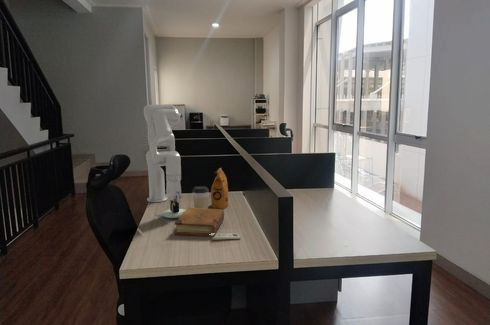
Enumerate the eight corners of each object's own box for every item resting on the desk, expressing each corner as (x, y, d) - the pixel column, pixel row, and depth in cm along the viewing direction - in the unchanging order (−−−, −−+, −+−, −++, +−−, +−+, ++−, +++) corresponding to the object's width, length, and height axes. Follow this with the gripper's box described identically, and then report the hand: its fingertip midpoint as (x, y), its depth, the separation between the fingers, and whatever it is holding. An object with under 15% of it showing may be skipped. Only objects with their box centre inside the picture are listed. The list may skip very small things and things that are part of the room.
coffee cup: (211, 211, 208) (210, 185, 205) (207, 216, 199) (207, 188, 196) (195, 210, 208) (194, 184, 206) (191, 215, 200) (190, 188, 197)
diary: (214, 237, 168) (214, 224, 167) (174, 234, 171) (174, 222, 170) (224, 219, 191) (224, 208, 190) (188, 217, 193) (188, 207, 192)
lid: (158, 212, 198) (158, 202, 197) (181, 209, 205) (181, 198, 204) (167, 219, 187) (167, 208, 186) (191, 215, 194) (191, 204, 193)
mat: (155, 216, 198) (155, 215, 198) (183, 211, 207) (183, 210, 207) (165, 224, 185) (165, 223, 185) (195, 219, 193) (195, 217, 193)
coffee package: (208, 209, 212) (207, 171, 209) (214, 203, 224) (213, 167, 221) (225, 209, 210) (224, 171, 207) (230, 203, 222) (229, 167, 219)
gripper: (161, 175, 197) (162, 208, 201) (172, 181, 184) (173, 216, 187) (174, 173, 201) (175, 206, 205) (186, 179, 188) (187, 214, 191)
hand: (174, 211), depth 196 cm, fingers closed on lid, 3 cm apart
